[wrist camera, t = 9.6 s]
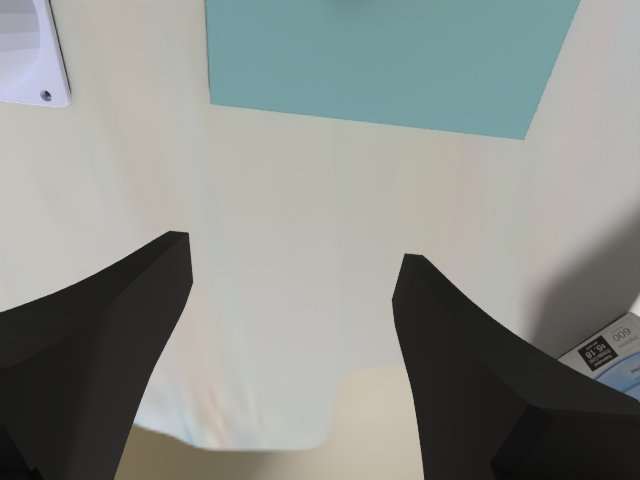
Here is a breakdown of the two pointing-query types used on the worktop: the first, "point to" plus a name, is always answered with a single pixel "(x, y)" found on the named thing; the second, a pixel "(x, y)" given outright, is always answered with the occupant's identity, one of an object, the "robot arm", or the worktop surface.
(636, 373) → the light bulb box
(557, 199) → the worktop surface
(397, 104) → the mat
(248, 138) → the worktop surface
